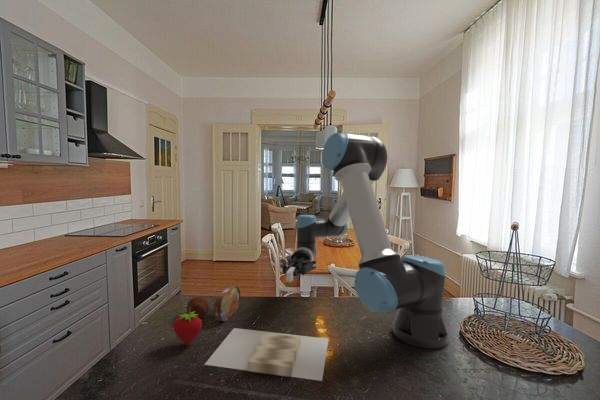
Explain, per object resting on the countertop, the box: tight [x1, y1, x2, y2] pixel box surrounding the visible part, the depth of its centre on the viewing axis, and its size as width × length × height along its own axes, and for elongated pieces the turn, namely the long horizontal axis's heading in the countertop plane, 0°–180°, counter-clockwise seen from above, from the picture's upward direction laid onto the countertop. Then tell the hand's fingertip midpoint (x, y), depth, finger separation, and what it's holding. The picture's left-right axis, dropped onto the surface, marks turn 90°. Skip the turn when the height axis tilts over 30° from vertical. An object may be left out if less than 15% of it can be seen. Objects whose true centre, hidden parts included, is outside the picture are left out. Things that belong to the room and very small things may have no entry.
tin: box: [213, 285, 241, 322], centre depth 98 cm, size 15×3×8 cm, turn 168°
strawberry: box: [172, 311, 203, 346], centre depth 80 cm, size 6×8×10 cm
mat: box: [204, 327, 330, 382], centre depth 77 cm, size 28×18×1 cm, turn 80°
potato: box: [186, 295, 210, 320], centre depth 97 cm, size 7×9×6 cm
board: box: [247, 333, 301, 378], centre depth 74 cm, size 10×2×13 cm
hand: (288, 277), depth 89 cm, fingers closed
